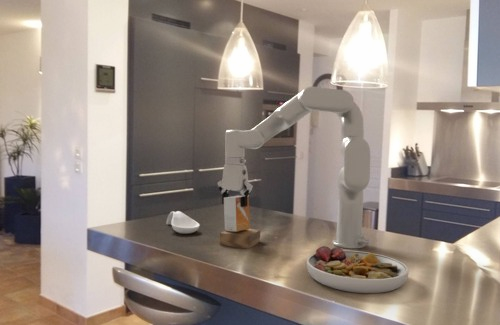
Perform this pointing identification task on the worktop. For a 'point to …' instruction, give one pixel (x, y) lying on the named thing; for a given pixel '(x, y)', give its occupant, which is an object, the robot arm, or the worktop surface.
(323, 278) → the bowl
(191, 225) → the spoon rest
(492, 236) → the worktop surface
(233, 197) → the small box
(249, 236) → the tan block
